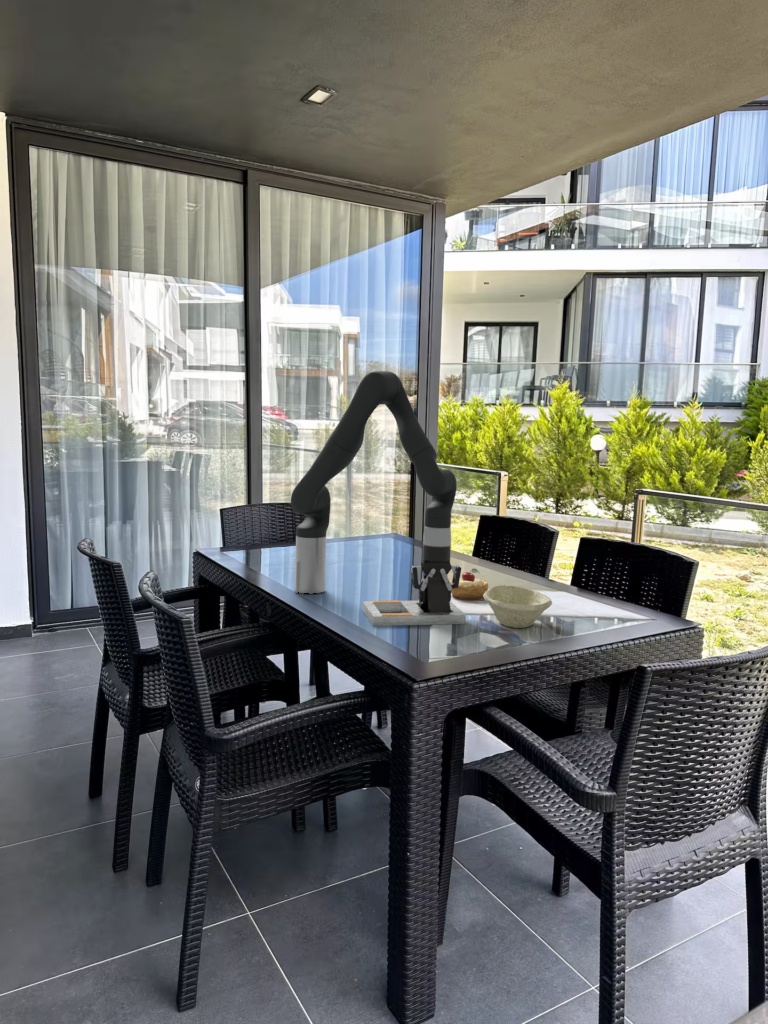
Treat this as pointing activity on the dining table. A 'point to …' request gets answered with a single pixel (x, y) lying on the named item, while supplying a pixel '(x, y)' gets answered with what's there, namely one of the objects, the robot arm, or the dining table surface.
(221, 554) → the dining table surface
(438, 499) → the robot arm
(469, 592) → the pastry
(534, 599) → the bowl
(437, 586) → the phone stand
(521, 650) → the dining table surface
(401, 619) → the white slotted tray
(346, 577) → the dining table surface
